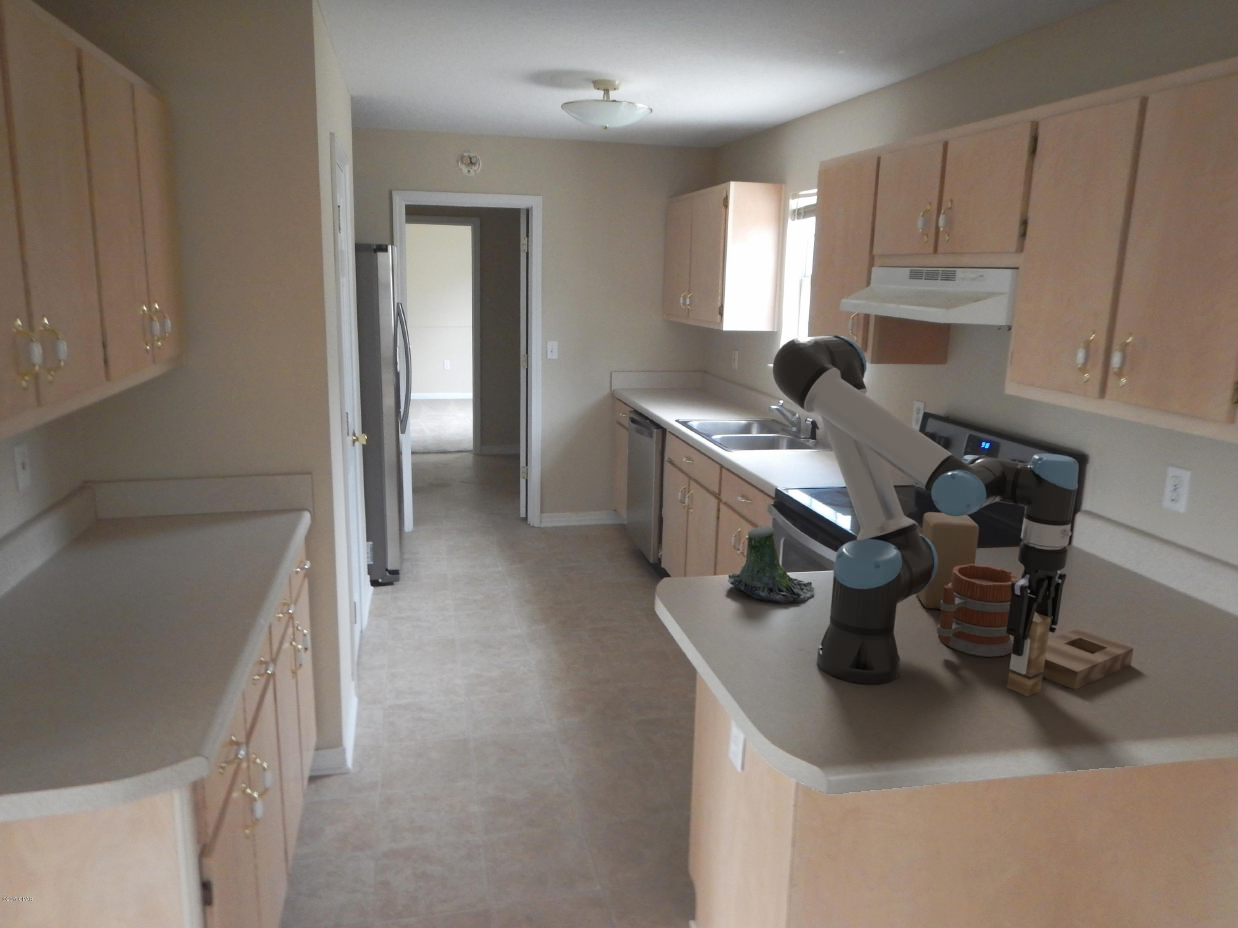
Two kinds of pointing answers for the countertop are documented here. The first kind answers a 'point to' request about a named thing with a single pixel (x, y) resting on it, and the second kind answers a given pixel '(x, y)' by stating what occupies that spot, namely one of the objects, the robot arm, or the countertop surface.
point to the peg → (1032, 659)
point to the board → (1083, 658)
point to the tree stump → (768, 572)
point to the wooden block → (947, 550)
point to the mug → (977, 611)
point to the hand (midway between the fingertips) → (1026, 667)
